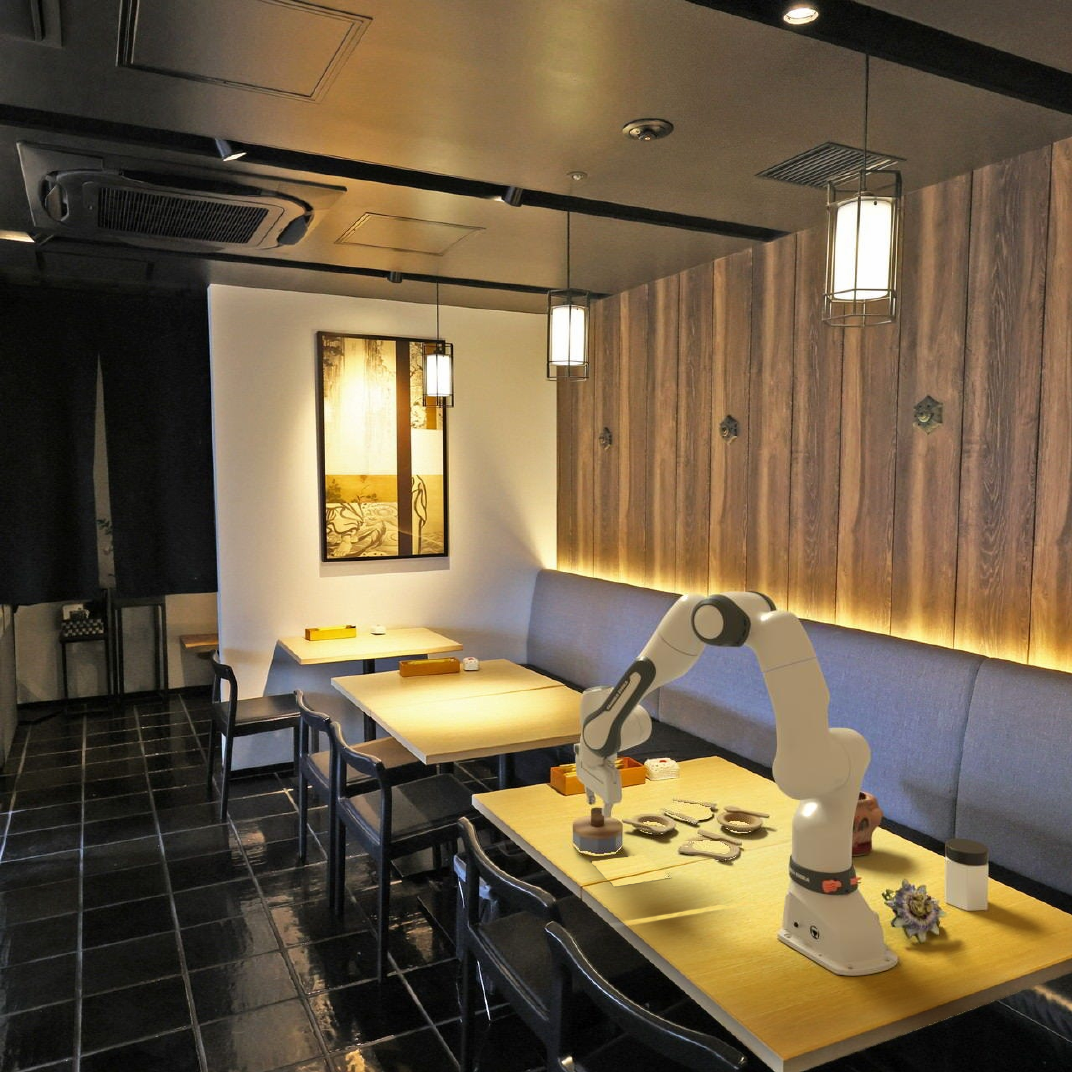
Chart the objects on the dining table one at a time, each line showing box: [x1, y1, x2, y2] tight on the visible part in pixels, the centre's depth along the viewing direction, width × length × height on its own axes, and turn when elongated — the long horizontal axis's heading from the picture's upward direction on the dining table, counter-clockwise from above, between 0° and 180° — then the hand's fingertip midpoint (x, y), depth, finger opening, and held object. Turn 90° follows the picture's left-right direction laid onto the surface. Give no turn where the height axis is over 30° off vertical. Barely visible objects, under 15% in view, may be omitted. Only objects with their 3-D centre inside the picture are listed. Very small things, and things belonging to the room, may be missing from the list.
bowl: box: [572, 831, 624, 854], centre depth 205 cm, size 11×11×5 cm
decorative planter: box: [852, 790, 884, 857], centre depth 205 cm, size 20×12×14 cm, turn 109°
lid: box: [572, 807, 624, 839], centre depth 205 cm, size 12×12×5 cm
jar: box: [944, 838, 990, 912], centre depth 179 cm, size 9×8×12 cm
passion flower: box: [881, 877, 947, 944], centre depth 167 cm, size 11×11×12 cm
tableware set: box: [621, 798, 771, 861], centre depth 217 cm, size 35×29×4 cm
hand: (598, 810), depth 205 cm, fingers open, 8 cm apart
